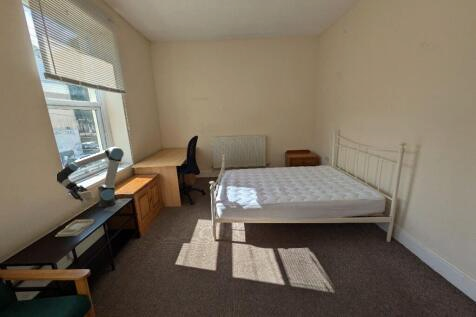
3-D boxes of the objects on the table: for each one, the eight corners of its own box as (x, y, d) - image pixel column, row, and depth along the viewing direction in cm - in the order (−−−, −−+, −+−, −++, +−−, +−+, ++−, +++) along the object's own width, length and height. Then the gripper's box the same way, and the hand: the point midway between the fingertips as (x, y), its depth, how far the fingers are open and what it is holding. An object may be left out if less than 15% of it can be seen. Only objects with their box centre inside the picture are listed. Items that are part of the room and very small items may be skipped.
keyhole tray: (76, 222, 180) (75, 220, 180) (95, 221, 180) (94, 219, 180) (54, 236, 158) (54, 233, 158) (76, 235, 159) (75, 233, 158)
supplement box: (92, 203, 189) (90, 189, 186) (93, 204, 185) (91, 191, 183) (81, 205, 183) (79, 192, 181) (82, 207, 180) (79, 193, 177)
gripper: (76, 183, 191) (95, 198, 194) (56, 191, 170) (78, 208, 173) (80, 177, 190) (100, 193, 193) (61, 185, 169) (83, 202, 172)
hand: (90, 200), depth 183 cm, fingers closed on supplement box, 9 cm apart
